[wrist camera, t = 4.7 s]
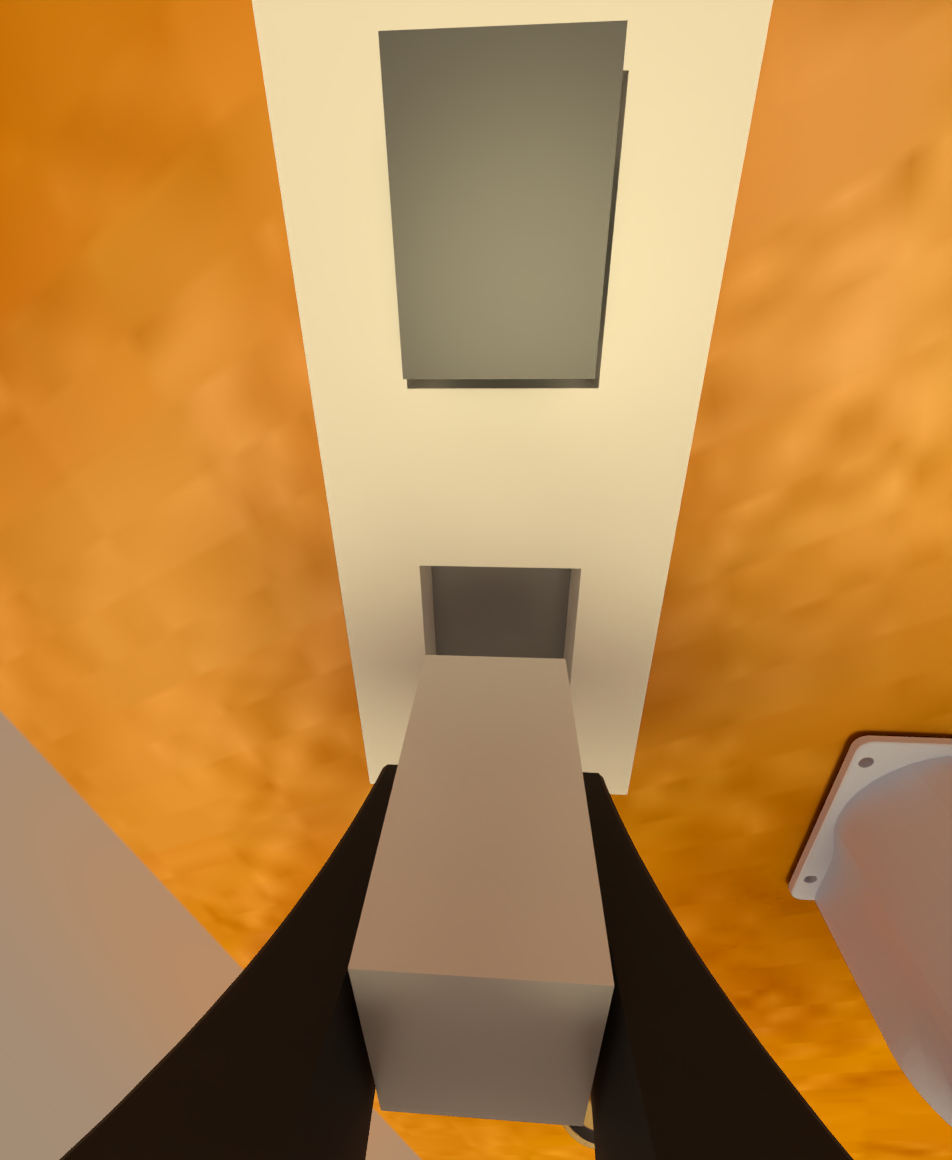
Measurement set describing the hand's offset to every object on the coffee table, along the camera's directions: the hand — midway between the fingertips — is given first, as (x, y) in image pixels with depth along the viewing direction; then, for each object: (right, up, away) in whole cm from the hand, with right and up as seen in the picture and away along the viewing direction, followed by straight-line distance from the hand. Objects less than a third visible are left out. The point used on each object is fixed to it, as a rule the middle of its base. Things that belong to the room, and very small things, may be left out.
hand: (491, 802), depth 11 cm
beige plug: (0, +1, +1) cm, 2 cm away
